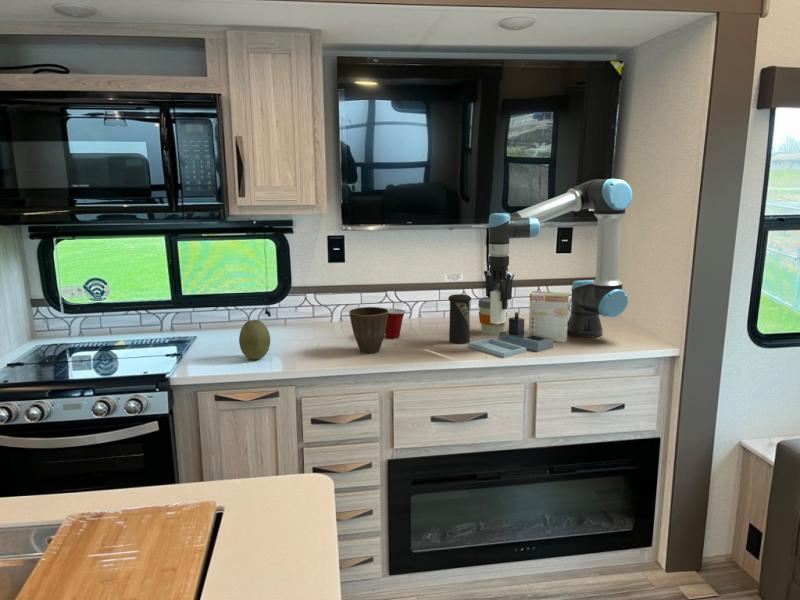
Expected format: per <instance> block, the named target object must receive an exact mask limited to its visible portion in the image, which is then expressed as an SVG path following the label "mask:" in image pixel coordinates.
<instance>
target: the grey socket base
mask: <svg viewBox="0 0 800 600" xmlns="http://www.w3.org/2000/svg"><path fill="white" fill-rule="evenodd" d="M498 340H499V341H503V342H507V343H511V344H514V345H518V346H522V347H525V348H527V349H526V350H528V351H532V352H536V353H539V352H544V351H547V350H551V349H554V339H553V338H548V337H544V336H540V335H536V334H532V333H529V331H528V332H527V331H525V318H523V317H522V318H521V317H519V312H517V311H516V312H514V316H513V317H508V330H505V331H504V330H503V332H499V334H498Z"/></svg>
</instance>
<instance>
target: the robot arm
mask: <svg viewBox="0 0 800 600" xmlns="http://www.w3.org/2000/svg"><path fill="white" fill-rule="evenodd" d="M632 200H633V191H632V188H631V186H630V185H629V184H628V182H627V181H625V180H623V179H619V178H618V179H617V178H603V179H602V178H601V179H597V178H596V179H590V180H588V181H586V182H583V183H581V184H579V185H576V186H573V187H572V188H569V189H567V192H566V193H563V194H560V195H558V196H554V197H553V198H550V199H548V200H544V201H541V202H540V203H536V204H534V205H532V206H529V207H526V208H524V209H522V210H518V211H515V212H513V213H511V214H510V213H508V212H507V213H506V212H500V213H498V212H495V213H491V214H490V215H489V217H488V218H489V220H488V254H489V256H488V265H489V270H484V271H483V275H484V277H485V296H486V297H489V298H490V293H491V292H492V291H497V286H499V287H500V295H501V300H500V301H499V318H504V317H506V312H507V311H506V309H508V307H507V301H509V300H512V295H513V294H512V293H513V282H514V280H513V279H514V277H515V274H514V273H511V272H510V271H509V268H508V266H509V265H510V256H509V255H510V239H525V238H526V239H530V238H536V237H537V236H539V234H540V231H541V226H540V225H541V223H544V222H546V221H549V220H553V219H554V218H557V217H559V216H562V215H565V214H567V213H571V212H572V211H573V212H579V211H582V210H586V209H587V210H588V209H593V215H594V216H595V217H596V218H597V229H596V230H597V232H596V233H597V234H596V238H597V240H596V267H595V279H584V280H574V281H573V282H572V285H571V301H570V315H569V317H568V329H567V335H570V336H572V337H574V336H575V337H577V338H578V337H581V338H596V337H597V338H598V337H600V336H603V334H604V330H603V329H604V327H603V325H602V322H601V317H600V316H602V317H606V318H607V317H608V318H615V317H618V316H620V315H622V313H623V312H624V311H625V310H626V309H627V307H628V304H629V303H628V302H629V297H628V295H627V293H626V292H625V291H624V290H623V281H621V280H620V279H619V277H620V276H619V275H620V256H621V255H620V252H621V251H620V249H621V226H622V221H621V220H622V218H623V217H624V216H625V215H626V209H627V208H628V207H629V206H630V204H631V203H632ZM506 318H507V317H506Z"/></svg>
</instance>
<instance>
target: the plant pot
mask: <svg viewBox="0 0 800 600" xmlns="http://www.w3.org/2000/svg"><path fill="white" fill-rule="evenodd" d="M385 308H386V307H385ZM385 308H384V307H376V306H364V307H363V306H362V307H357V308H352V309H351V310H349V311H348V313H349V319H350V324H351V328H352V329H351V330H352V332H353V335H354V338H355V342H356V343H357V347H358V349H359V352H360V353H362V354H367V355H368V354H369V355H370V354H377V353H379V352H380V350H381V347H382V344H383V341H384V337H385V330H386V325H387V318H388V310H387V309H385Z"/></svg>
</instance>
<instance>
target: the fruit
mask: <svg viewBox="0 0 800 600" xmlns="http://www.w3.org/2000/svg"><path fill="white" fill-rule="evenodd" d="M238 342H239V348H240V350H241V352H242V354H243V355H244V356H245V358H247V359H249V360H253V361H254V360H260V359H263V358H264V357H265V356H266V355H267V354H268V352H269V350H270V346H271V336H270V332H269V329H268V328H267V325H266V324H265V323H263V322H262V320H258V319H249V320H248V321H246V322H245V323H244V324H243V325H242V327H241V329H240V332H239V338H238Z"/></svg>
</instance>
